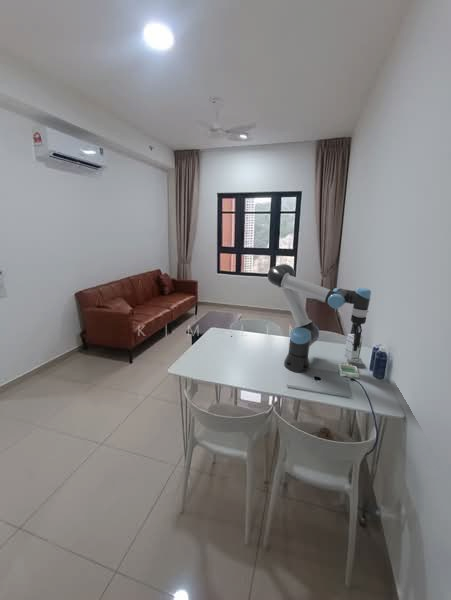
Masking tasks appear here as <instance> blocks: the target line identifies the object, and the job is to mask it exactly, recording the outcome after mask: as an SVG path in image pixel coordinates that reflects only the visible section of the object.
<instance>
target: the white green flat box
mask: <svg viewBox="0 0 451 600" xmlns="http://www.w3.org/2000/svg"><path fill="white" fill-rule="evenodd" d="M336 365H337V369H338V373H339V372H340V373H342V374H345V375H346V376H347V377H346V378H351V379H356V380H360V373H359V370H357V369H358V367H356V366H352V364H350V365H349V364H348V363H344V362H342V363H338V364H336Z"/></svg>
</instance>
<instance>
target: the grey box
mask: <svg viewBox="0 0 451 600" xmlns="http://www.w3.org/2000/svg"><path fill="white" fill-rule="evenodd" d="M346 361H347V365H348V364H349V365H350V364H352V366H356V367H357V370H358V369H364V361H363V360H362V358H361V357H359V360H349V359H348V358H346ZM358 371H359V370H358Z"/></svg>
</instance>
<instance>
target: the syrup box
mask: <svg viewBox="0 0 451 600" xmlns="http://www.w3.org/2000/svg"><path fill="white" fill-rule="evenodd" d="M353 343H354V334H350V333H348V334H347V337H346V343H345V351H344V357H345V358H346V359H347V358H348V359H349V360H359V358H360V356H361V355H360V354H361V349H362V344H363V336H362V335H361V338H360V345H359V346H358V349H357V354H356V356H352V355H351V351H352V346H353V345H352V344H353Z"/></svg>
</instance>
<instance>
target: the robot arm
mask: <svg viewBox="0 0 451 600" xmlns="http://www.w3.org/2000/svg"><path fill="white" fill-rule="evenodd" d="M295 275H296V271H295V269H294V267H293V266H291V265H290V264H287V263H286V264H280V265H279V264H278V265H274V266H272V267H270V269H269V270H268V272H267V280H268V281H269V282H270V283H271V284H272V285H274V286H277V287H278V289H280V290H281V292H282V293H283V295H284V298H285V300H286V303H287V306H288V308H289V311H290V313H291V315H292V318H293V320H294V322H295V325H294V328H293V329H292V330H291V332H290V335H289V346H288V353H287V355H286V357H285V359H284V363H283V365H284V367H285V368H286V369H287V370H289V371H291V372H296V373H306V372H308V371H309V370H310V366H311V365H310V360H309V353H310V352H309V351H310V347H311V346H312V345H313V344H314V343H315V342H317V340H318V339H319V336H320V330H319V328H318V326H316V325H315V324H314V322H313V320H312V319H309V316H308V314H307V311H306V310H305V307H304V304H303V301H302V300H301V297H300V294H301V295H305V296H307V297H309V298H312V299H315V300H317V301H320V302H322V303H325V304H328V306H329V307H330V308H331V309H339V308H340V307H343V306H344V304H351V305H353V306H352V312H351V318H350V322H351V323H352V324H351V329H350V333H349V334H354V343H353V344H352V345H353V346H352V351H351V355H352V356H356V354H357V349H358V346H359V345H360V338H361V336H362V332H363V329H362V325H365V323H366V321H367V315H368V313H369V306H370V301H371V295H372V291H371V290H370V289H368V288H365V287H357V288H356V289H355V290H350V289H344V288H339V287H337V288H336V287H335V288H333V290H331V289H329V288H326V287H324V286H321V285H317V284H316V283H312V282H310V281H307V280H304V279H303V278H302V279H301V278H298V277H296V276H295ZM307 370H308V371H307Z"/></svg>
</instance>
